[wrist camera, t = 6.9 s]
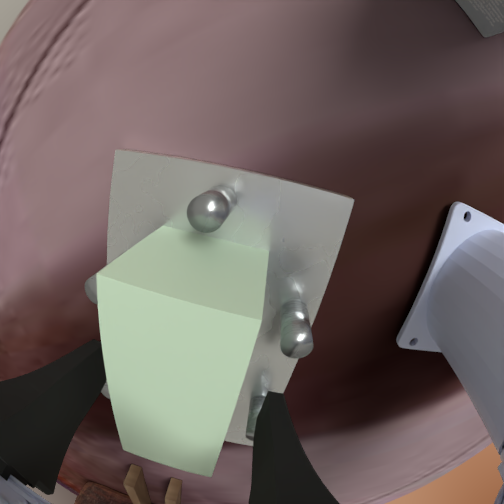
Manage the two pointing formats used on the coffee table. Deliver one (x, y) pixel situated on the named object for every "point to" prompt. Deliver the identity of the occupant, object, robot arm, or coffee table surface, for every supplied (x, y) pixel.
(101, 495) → the wooden tablet
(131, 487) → the tablet cradle
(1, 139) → the coffee table surface
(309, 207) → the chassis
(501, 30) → the hard drive box
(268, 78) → the coffee table surface
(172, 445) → the pale green block
